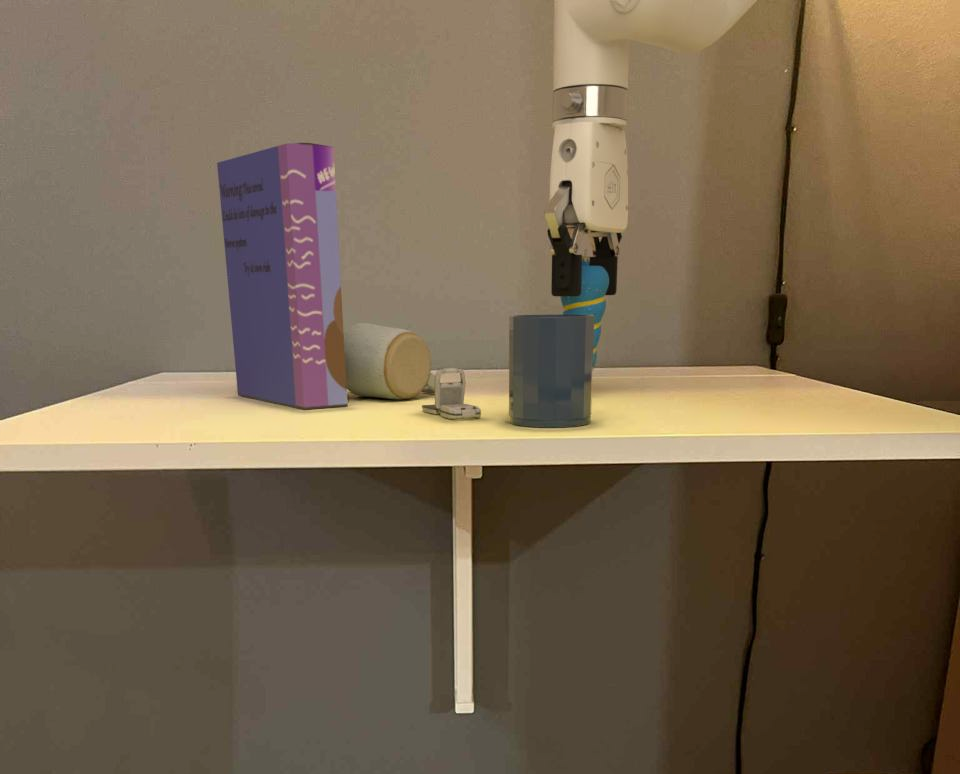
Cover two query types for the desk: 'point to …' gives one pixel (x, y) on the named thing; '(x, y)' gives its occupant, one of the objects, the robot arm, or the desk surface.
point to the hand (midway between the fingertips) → (584, 294)
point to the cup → (550, 370)
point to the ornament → (589, 297)
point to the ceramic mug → (386, 362)
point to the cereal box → (285, 275)
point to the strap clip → (451, 398)
